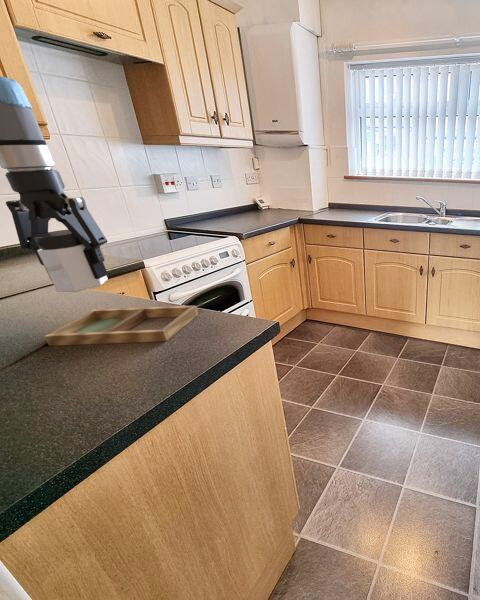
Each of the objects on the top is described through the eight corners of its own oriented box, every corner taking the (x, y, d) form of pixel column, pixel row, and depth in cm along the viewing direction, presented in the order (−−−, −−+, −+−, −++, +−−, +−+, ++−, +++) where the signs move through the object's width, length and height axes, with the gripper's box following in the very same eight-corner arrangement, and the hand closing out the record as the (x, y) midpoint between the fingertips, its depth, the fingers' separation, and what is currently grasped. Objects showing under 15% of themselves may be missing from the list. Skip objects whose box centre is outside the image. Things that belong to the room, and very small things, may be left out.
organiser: (48, 346, 74) (43, 336, 73) (97, 318, 87) (93, 309, 86) (166, 341, 74) (163, 331, 73) (198, 314, 87) (196, 305, 86)
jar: (69, 282, 78) (45, 231, 73) (112, 276, 81) (91, 226, 76) (51, 296, 71) (22, 239, 66) (98, 288, 73) (75, 234, 69)
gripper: (101, 166, 69) (140, 270, 79) (-4, 170, 69) (47, 274, 78) (70, 168, 62) (116, 281, 72) (-48, 173, 62) (14, 285, 72)
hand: (80, 277), depth 75 cm, fingers closed on jar, 9 cm apart
